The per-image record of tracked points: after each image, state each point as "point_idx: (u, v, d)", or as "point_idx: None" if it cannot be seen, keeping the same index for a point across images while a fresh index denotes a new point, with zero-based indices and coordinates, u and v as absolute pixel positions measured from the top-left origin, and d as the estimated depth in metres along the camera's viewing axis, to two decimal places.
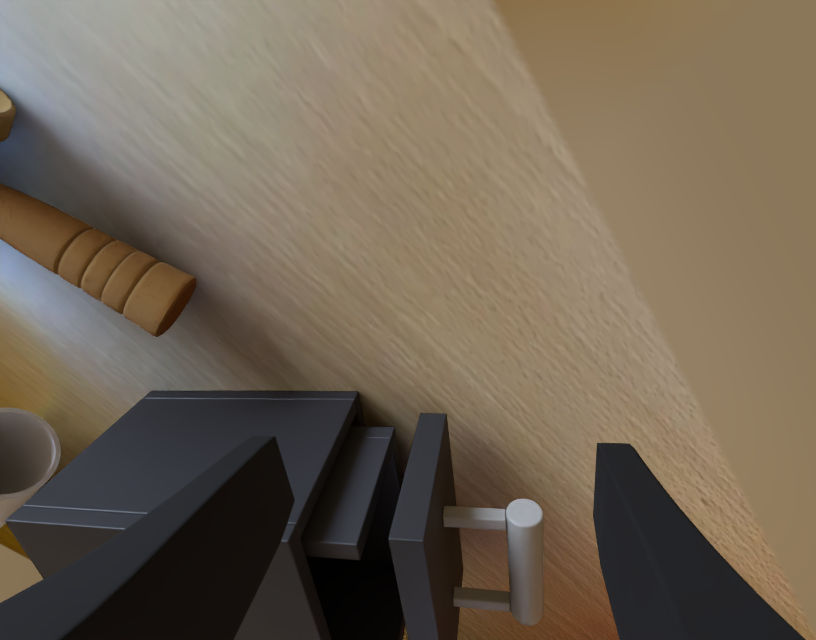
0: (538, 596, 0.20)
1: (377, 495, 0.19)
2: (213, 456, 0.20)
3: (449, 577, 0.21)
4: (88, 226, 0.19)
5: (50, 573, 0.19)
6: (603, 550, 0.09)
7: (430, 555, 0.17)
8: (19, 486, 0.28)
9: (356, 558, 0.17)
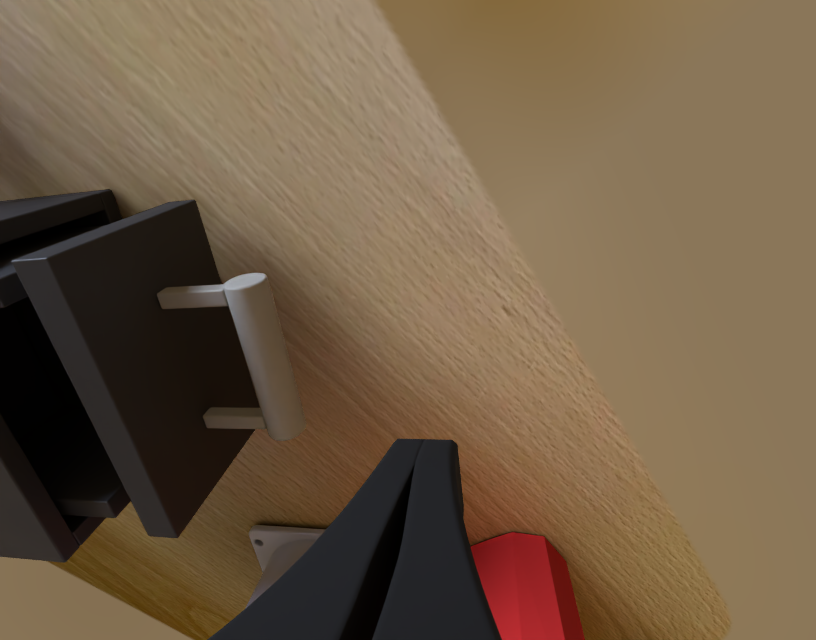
0: (282, 398, 0.17)
1: None
2: None
3: (188, 384, 0.17)
4: None
5: None
6: None
7: (85, 297, 0.13)
8: None
9: None
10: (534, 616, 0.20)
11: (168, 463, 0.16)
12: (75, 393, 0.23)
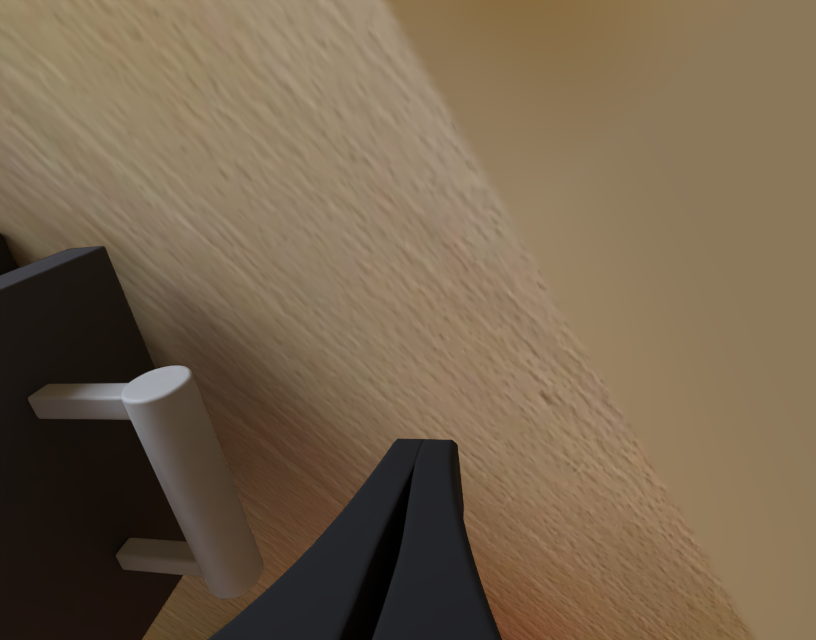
0: (221, 546, 0.11)
1: None
2: None
3: (90, 517, 0.12)
4: None
5: None
6: None
7: None
8: None
9: None
10: None
11: None
12: None
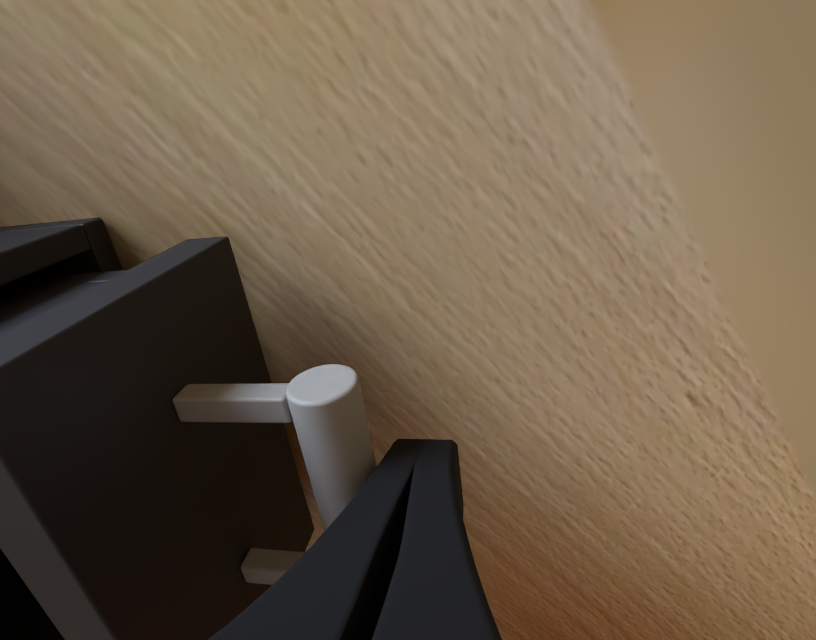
0: None
1: None
2: None
3: (220, 527, 0.11)
4: None
5: None
6: None
7: (43, 446, 0.07)
8: None
9: None
10: None
11: None
12: None
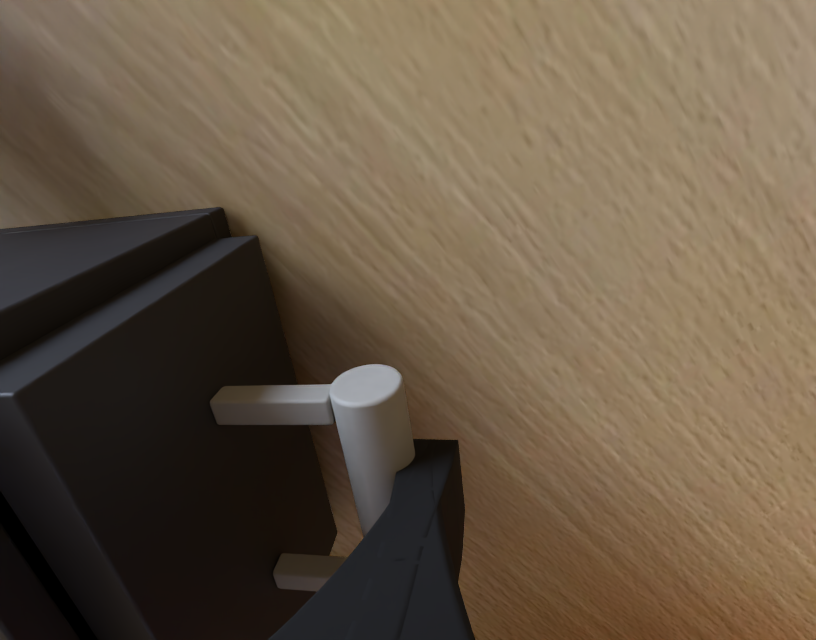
0: None
1: None
2: None
3: (254, 532, 0.11)
4: None
5: None
6: None
7: (92, 451, 0.07)
8: None
9: None
10: None
11: None
12: None
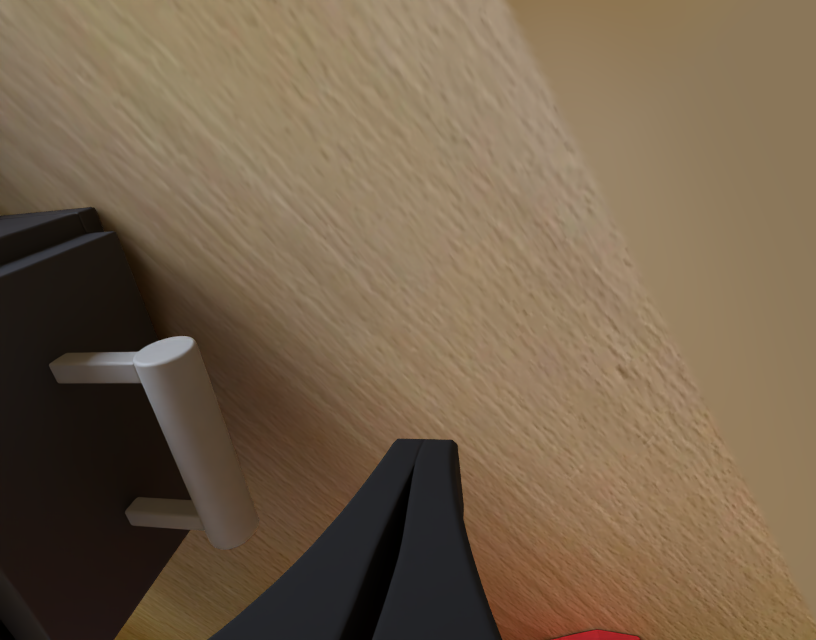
0: (221, 499, 0.13)
1: None
2: None
3: (102, 475, 0.13)
4: None
5: None
6: None
7: None
8: None
9: None
10: None
11: (68, 589, 0.12)
12: None
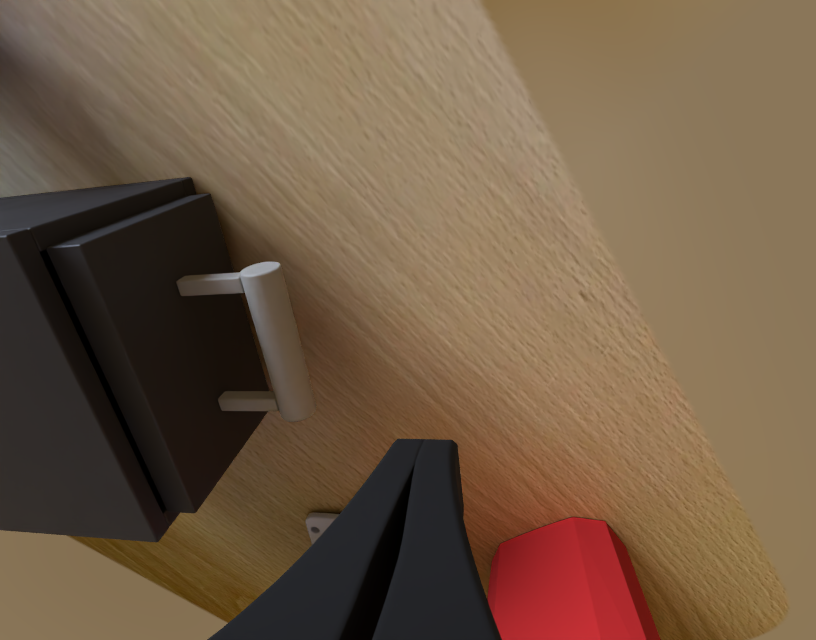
0: (294, 380, 0.18)
1: None
2: None
3: (205, 368, 0.18)
4: None
5: None
6: None
7: (112, 282, 0.14)
8: None
9: None
10: (605, 596, 0.20)
11: (187, 442, 0.17)
12: None
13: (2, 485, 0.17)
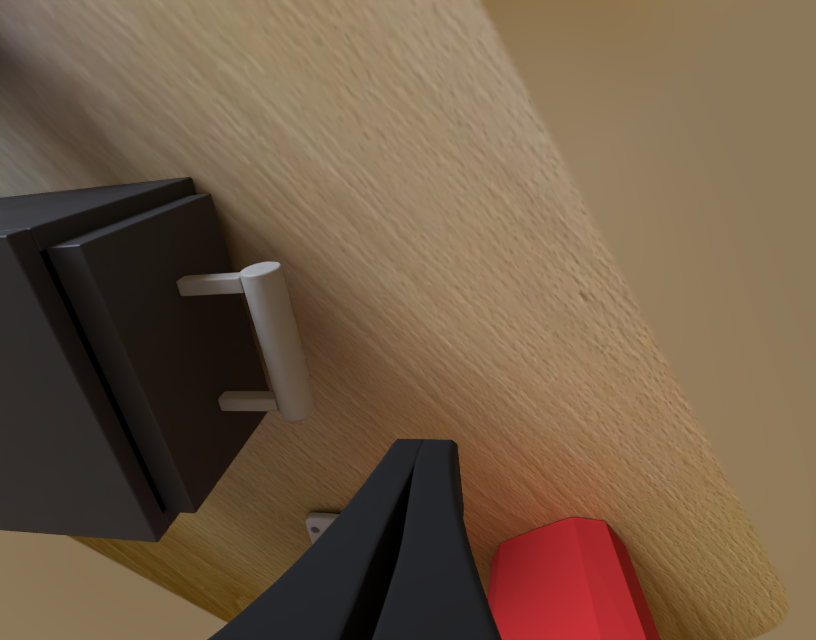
0: (294, 380, 0.18)
1: None
2: None
3: (205, 368, 0.18)
4: None
5: None
6: None
7: (112, 282, 0.14)
8: None
9: None
10: (605, 596, 0.20)
11: (187, 442, 0.17)
12: None
13: (2, 485, 0.17)
